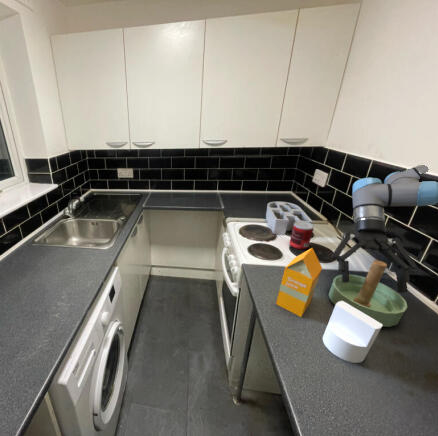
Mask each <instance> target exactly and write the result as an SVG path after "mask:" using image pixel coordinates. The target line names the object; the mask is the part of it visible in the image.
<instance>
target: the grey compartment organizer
mask: <svg viewBox="0 0 438 436" xmlns="http://www.w3.org/2000/svg"><path fill="white" fill-rule="evenodd" d="M265 220H266V222H267V224H268V226H269V228H270V230H271V232H272V234H273V235H278V236H284V235H285V234H286V233H287V231H290V232H292V230H293V226H294V223H295V222H298V221H303V222H308V223H310V224H312V225H314V224H313V223H314V221H313V220H312V219H311V218H310V217H309V215H307V213H306V212H305V211H304V210H303V209H302V208H301V206H299V205H298V204H295V203H291V202H287V201H271V202H268V203H267V206H266V212H265Z"/></svg>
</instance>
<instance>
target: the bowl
mask: <svg viewBox="0 0 438 436" xmlns="http://www.w3.org/2000/svg"><path fill="white" fill-rule="evenodd" d="M365 279H366V276H362V275H357V274H349V282H346V283H344V282H342V274H339V275H336V276H335V277H334V278H333V279H332V282H331V284H330V288H329V290H328V297H329V299H330V301H331V302H332V304H333V305H334V306H335V305H336V303H337V302H339V301H344V302H346V303H347V304H349V305H351V306H352V307H354V308H356V309H357V310H359V311H361V312H363V313H364V314H366V315H368V316H369V317H371V318H373V319H374V320H376V321H378V322H379V323H381V324H383V326H382V327H385V328H386V327H387V328H390V327H394V326H397V325H398V324H399V322H400V321H401V320H402V318H403V316H404V315H405V312H406V311H407V309H408V304H407V301H406V299H404V297H403V296H402V294H400V293H399V292H398V291H396V290H395V289H393V288H391V287H390V286H388V285H386V284H384V283H383V282H380V281H379V284H378V286H377V288H376V290H375V292H374V294H373V296H372V298H371V300H370V303H371V306H370V308H369V307H366V306H363V305H361V304H359V303H357V302H355V301H354V298H355V297H358V295H359V292H360V290H361V288H362V286H363V283H364V281H365Z"/></svg>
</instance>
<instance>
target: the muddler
mask: <svg viewBox="0 0 438 436" xmlns="http://www.w3.org/2000/svg"><path fill="white" fill-rule="evenodd" d="M387 267H388V264H387V263H386V262H384V261H382V260H375V259H374V260H373V261H372V263H371V265H370V267H369V270H368V271H367V274H366V276H365V277H366V279H365V281H364V283H363V286H362V288H361V290H360V292H359V295H358V297H355V298H354V301H355V302H357V303H359V304H361V305H363V306H366V307H369V308H370V306H371V303H370V300H371V298H372V296H373V294H374V292H375V290H376V288H377V286H378V284H379V282H380V281H381V279H382V278H383V275H384V273H385V271H386V269H387Z"/></svg>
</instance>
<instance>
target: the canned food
mask: <svg viewBox="0 0 438 436" xmlns="http://www.w3.org/2000/svg"><path fill="white" fill-rule="evenodd" d="M314 229H315V226H314V224H310V223H308V222H303V221H298V222H295V223H294V226H293V230H292V231H291V235H290V239H289V246H291V247H292V248H294V249H297V250H307V249H308V248H309V245H310V243H311V239H312V235H313V234H314V233H313V232H314Z"/></svg>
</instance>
